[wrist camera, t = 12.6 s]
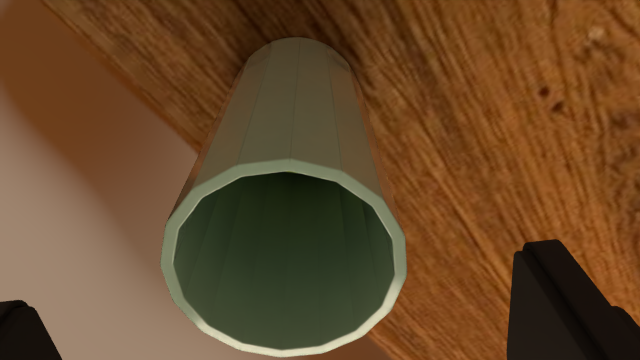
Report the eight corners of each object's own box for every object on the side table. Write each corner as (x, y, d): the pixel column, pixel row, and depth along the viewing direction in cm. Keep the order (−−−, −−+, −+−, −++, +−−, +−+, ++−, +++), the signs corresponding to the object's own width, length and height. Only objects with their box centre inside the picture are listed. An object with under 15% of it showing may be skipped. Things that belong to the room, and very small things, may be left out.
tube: (221, 46, 21) (128, 178, 10) (353, 28, 20) (400, 144, 10) (247, 163, 23) (195, 367, 13) (364, 149, 23) (411, 344, 12)
